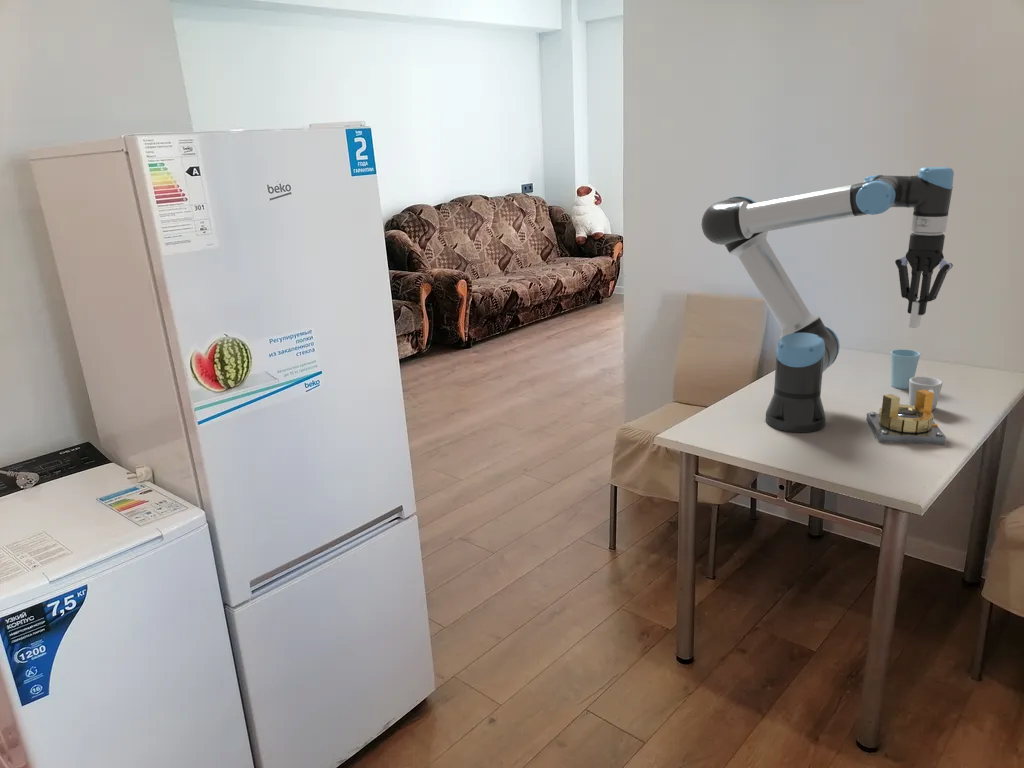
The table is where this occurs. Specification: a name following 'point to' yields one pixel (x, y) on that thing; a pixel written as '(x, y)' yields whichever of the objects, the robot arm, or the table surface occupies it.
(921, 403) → the ring nut
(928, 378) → the cup
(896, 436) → the flange
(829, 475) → the table surface
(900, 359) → the cup
